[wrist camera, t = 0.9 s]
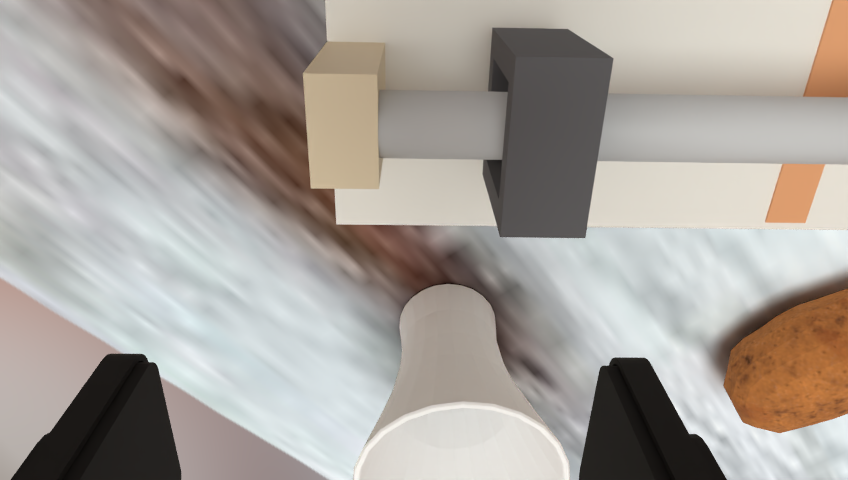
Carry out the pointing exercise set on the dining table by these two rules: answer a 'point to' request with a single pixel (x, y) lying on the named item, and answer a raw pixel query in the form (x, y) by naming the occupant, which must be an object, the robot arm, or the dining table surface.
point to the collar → (546, 130)
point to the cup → (457, 402)
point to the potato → (793, 367)
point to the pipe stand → (624, 116)
